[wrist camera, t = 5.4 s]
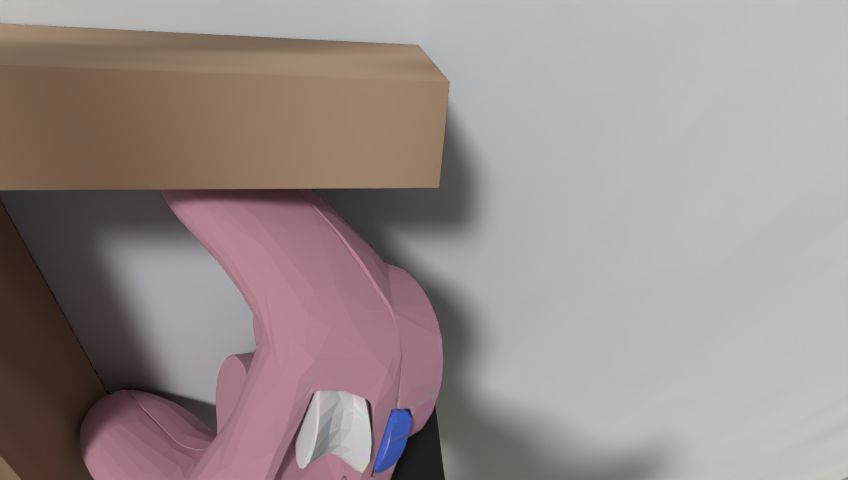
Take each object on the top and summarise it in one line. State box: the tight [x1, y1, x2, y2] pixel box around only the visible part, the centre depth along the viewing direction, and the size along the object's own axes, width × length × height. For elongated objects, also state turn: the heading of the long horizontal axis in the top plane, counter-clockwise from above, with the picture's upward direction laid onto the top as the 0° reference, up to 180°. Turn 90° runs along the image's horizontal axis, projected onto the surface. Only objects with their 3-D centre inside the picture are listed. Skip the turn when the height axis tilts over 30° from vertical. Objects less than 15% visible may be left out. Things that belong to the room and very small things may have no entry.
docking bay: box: [0, 24, 450, 480], centre depth 10 cm, size 10×16×3 cm, turn 176°
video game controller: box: [80, 189, 443, 480], centre depth 9 cm, size 10×5×7 cm, turn 150°
